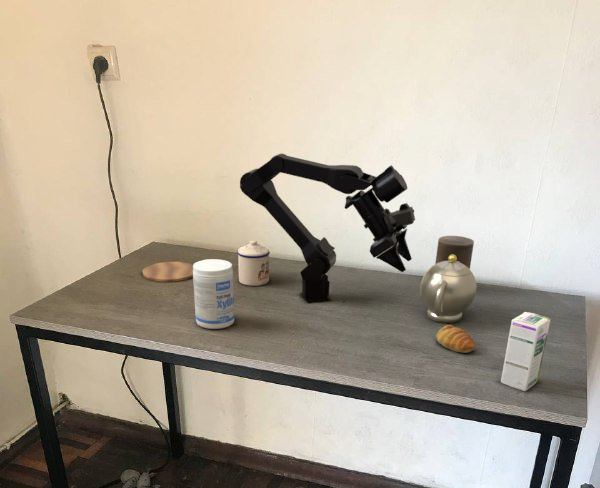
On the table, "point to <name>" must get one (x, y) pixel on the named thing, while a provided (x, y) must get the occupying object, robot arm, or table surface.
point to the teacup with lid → (253, 264)
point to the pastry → (455, 339)
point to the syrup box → (525, 350)
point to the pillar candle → (455, 249)
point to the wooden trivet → (168, 271)
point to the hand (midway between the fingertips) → (407, 265)
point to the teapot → (448, 290)
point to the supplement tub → (213, 293)
